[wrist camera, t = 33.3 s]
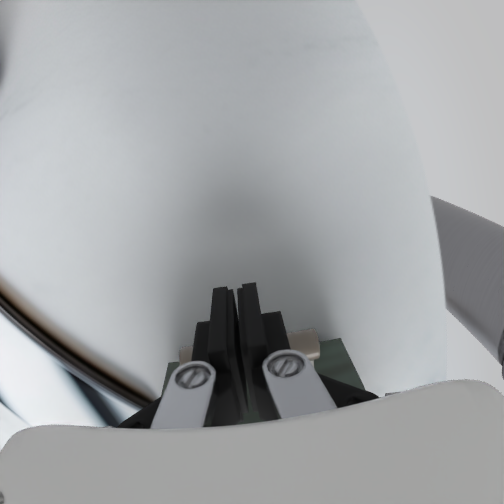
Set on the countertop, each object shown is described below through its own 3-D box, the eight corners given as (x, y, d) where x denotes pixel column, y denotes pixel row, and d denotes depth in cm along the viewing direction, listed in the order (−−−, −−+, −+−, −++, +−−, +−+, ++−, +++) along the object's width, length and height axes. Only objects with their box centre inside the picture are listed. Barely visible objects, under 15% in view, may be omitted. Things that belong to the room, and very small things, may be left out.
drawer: (147, 302, 17) (106, 399, 10) (341, 273, 17) (401, 359, 10) (215, 465, 24) (215, 533, 17) (332, 449, 24) (351, 514, 17)
